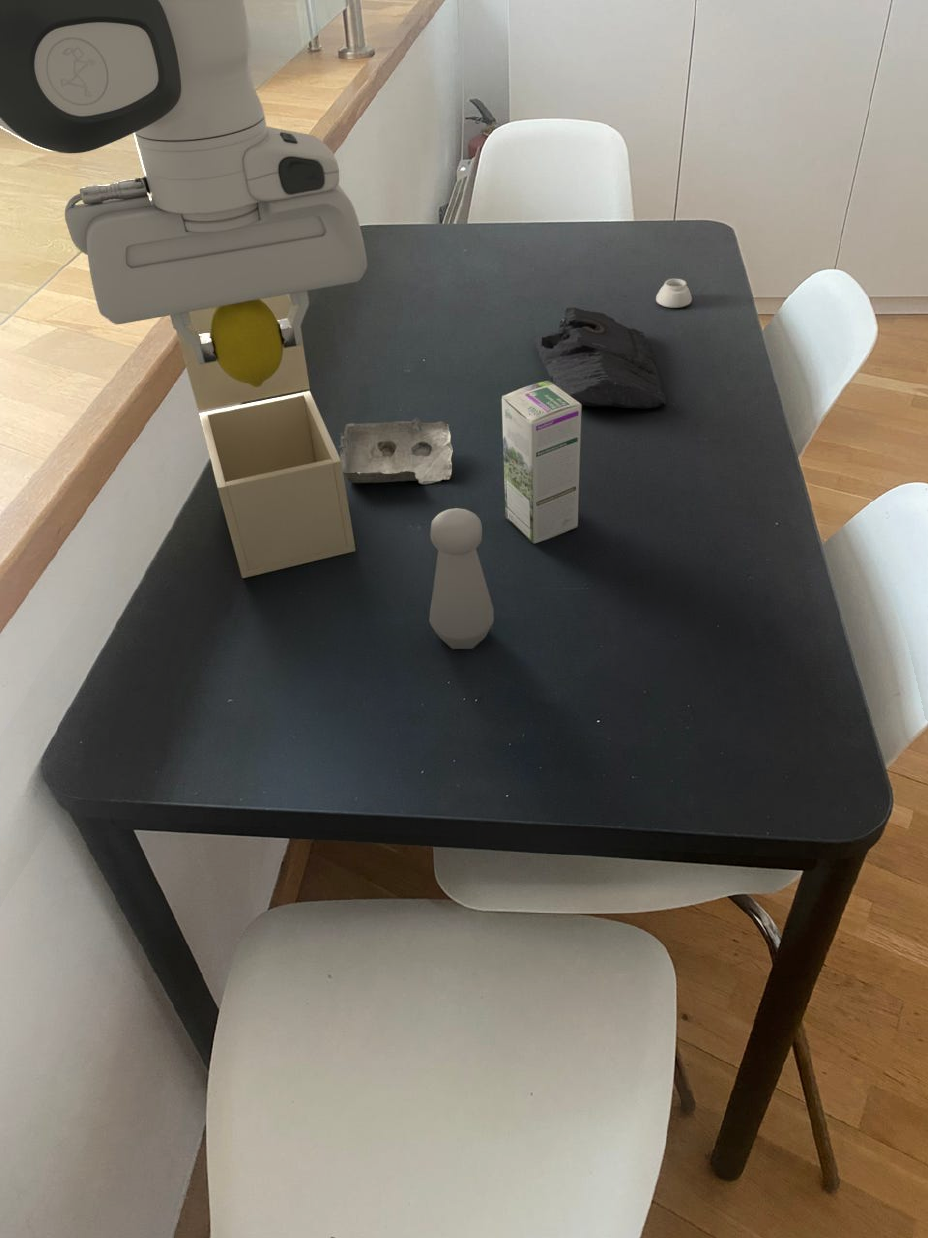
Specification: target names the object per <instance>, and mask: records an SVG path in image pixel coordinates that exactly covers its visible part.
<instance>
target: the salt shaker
mask: <svg viewBox="0 0 928 1238" xmlns="http://www.w3.org/2000/svg"><path fill="white" fill-rule="evenodd" d="M429 533H430V535H429V536H430V541H431V543H432V545H433V546H434V547H435V548H436V550H437V551H438V552H437V557H436V564H435V572H434V581H433V588H432V595H431V601H430V609H429V617H428V618H429V619H428V621H429V624H430V625H431V627H432V629H433V630H434V632H435V633H436V635H438V637H439V639H441V640H442V642H443V643H445V644H446V645H447V646H448V647H449V648H451V649H452V650H469V649H470V650H471V649H474V648H475V647H477V646H478V645H479V644H480V643H481V642H482V641H484V639H485V638H486V637H487V635H488V634H489V632H490V630H491V628H492V626H493V624H494V620H495V619H494V617H495V615H494V605H493V602H492V599H491V596H490V592H489V589H488V586H487V582H486V577H485V576H484V572H483V568H482V564H481V561H480V558H479V554H478V551H477V548H478V547H479V546H480V544H481V542H482V540H483V525H482V521H481V519H480V518H479V516H477V514H476V513H474V512H472V511H470V510H468V509H467V508H459V507H455V508H448V509H446V510H443V511H441V512H439V513H438V514H436V516H435V517H434V518H433V520H432V521H431V524H430V532H429Z"/></svg>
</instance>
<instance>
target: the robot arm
mask: <svg viewBox="0 0 928 1238" xmlns="http://www.w3.org/2000/svg"><path fill="white" fill-rule="evenodd" d="M250 33H251V32H250V28H249V23H248V18H247V11H246V8H245V2H244V0H0V128H1V129H3V130H4V131H6V132H8V133H10V134H12V135H13V136H15V137H17V138H18V139H20V140H22V141H24V142H26V143H28V144H30V145H33V146H34V147H37V148H39V149H42V150H45V151H49V152H53V153H60V154H82V153H83V154H84V153H87V152H88V153H89V152H91V151H94V150H97V149H100V148H103V147H106V146H108V145H110V144H113V143H114V142H117V141H119V140H121V139H123V138H127V136H130V135H133V136H134V139H135V143H136V147H137V151H138V154H139V159H140V162H141V165H142V169H143V173H144V177H138V178H137V177H136V178H132V179H126V180H120V181H118V182H114V183H110V184H103V185H100V184H92V185H86V186H83V187H81V188H79V193H78V194H76V195H74V196H72V197H71V198H70V199H69V200H68V202H67V204H66V205H65V208H64V219H65V223H66V226H67V229H68V232H69V235H70V238H71V241H72V243H73V245H74V246H75V247H76V249H78V250H79V251H80V252H81V253H83V254H84V255H87V261H88V268H89V274H90V280H91V284H92V289H93V294H94V297H95V301H96V305H97V309H98V312H99V314H100V315H101V316H102V317H103V318H105V320H108V321H109V322H110V323H111V324H114V325H115V326H116V325H123V324H129V323H135V322H141V321H147V320H152V319H157V318H163V317H170V320H171V321H170V322H171V324H172V327H173V329H174V330H175V332H176V331H177V332H178V333H179V334H180V335H181V336H182V337H183V338H184V339H185V340H186V341H187V342H188V343H189V344H191V345H192V346H194V350H195V353H196V357H197V361H198V364H199V365H200V364H205V363H210V362H215V361H217V359H216V355H215V352H214V347H213V344H212V340H211V336H210V333H207V334H200V335H199V333H198V332H197V331H196V330H195V329H194V328H193V327H192V326H191V320H190V316H189V312H191V311H197V310H203V309H208V308H214V307H219V306H225V305H231V304H236V303H242V302H247V301H253V300H258V299H264V298H270V297H275V296H281V295H286V294H287V296H288V298H289V300H290V302H291V304H292V305H291V308H290V311H289V314H288V316H287V319H282V320H278V325H279V328H280V331H281V335H282V342H283V346H284V348H289V347H295V346H300V345H302V340H303V339H302V340H301V334H302V333H301V334H300V328H299V326H300V327H301V326H302V323H303V320H304V319H305V315H306V313H307V311H308V308H309V306H310V299H309V293H308V291H313V290H314V291H315V290H318V289H319V290H320V289H324V288H329V287H330V288H331V287H336V286H342V285H348V284H353V283H357V282H359V281H361V279H362V278H363V276H364V274H365V273H366V271H367V269H368V259H367V252H366V246H365V242H364V237H363V233H362V228H361V225H360V222H359V219H358V215H357V212H356V210H355V207H354V205H353V203H352V201H351V199H350V197H349V196H348V195H347V194H346V192H345V191H344V189H343V187H341V185H340V184H339V183H340V169H339V168H340V167H339V165H338V161H337V158H336V156H335V155H334V153H333V151H332V149H330V148H329V146H328V145H327V144H326V143H325V142H323V141H322V139H320V138H318V137H316V136H314V135H311V134H308V133H303V132H298V131H292V130H286V129H282V128H277V127H271V126H267V122H266V116H265V112H264V108H263V107H264V106H263V104H262V101H261V99H260V97H259V96H258V93H257V91H256V88H255V86H254V82H253V79H252V73H251V72H252V71H251V53H252V40H251V39H252V38H251V34H250ZM80 201H82V203H80V204H78V203H79V202H80ZM177 332H176V333H177Z"/></svg>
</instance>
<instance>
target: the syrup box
mask: <svg viewBox="0 0 928 1238" xmlns="http://www.w3.org/2000/svg"><path fill="white" fill-rule="evenodd" d="M501 418H502V441H503V442H502V446H503V447H502V448H503V450H502V451H503V475H504V476H503V480H504V507H505V512H504V513H505V518H506V519H507V520H508V521H509V522H510V523H511V524H512V525H513V526H514V527H515V528H516V529H518V530H519V532H521V533H522V535H524V536H525V538H527V540H528V541H530V542H531V543H532V544H538V543H541V542H543V541H546V540H549V539H551V538H554V537H556V536H559V535H561V534H564V533H567V532H568V531H571V530H574V529H576V528H578V526H579V497H580V495H579V494H580V465H581V464H580V461H581V437H582V436H581V433H582V406H581V404H580V403H579V402H578V401H576V400H575V399H573V398H572V397H571V396H569V395H568V394H567V393H565V392H564V391H562V390H561V389H560V388H558V387H557V386H556V385H555V383H554V382H553V381H552V382H551V380H545V381H540V382H537V383H533V384H530V385H526V386H524V387H521V388H518V389H516V390H514V391H511V392H509V393H506V394H504V395H502V396H501Z"/></svg>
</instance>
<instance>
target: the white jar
mask: <svg viewBox="0 0 928 1238" xmlns="http://www.w3.org/2000/svg"><path fill="white" fill-rule="evenodd" d="M687 285H688V284H687V281H686V280H685V279H682V278H668V279H666V280H665V281H664V284H663V285H662V286H661V288H660V289H659V291H658V292H657V294H656V295H655V302H656V303H657V304H658V305H660V306H662V307H666V308H670V309H679V308H684V307H686V306H688V305H690V304H691V303H692V302H693V301H692V300H693V297H692V294H691V291H690V289H689V287H688V286H687Z"/></svg>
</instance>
